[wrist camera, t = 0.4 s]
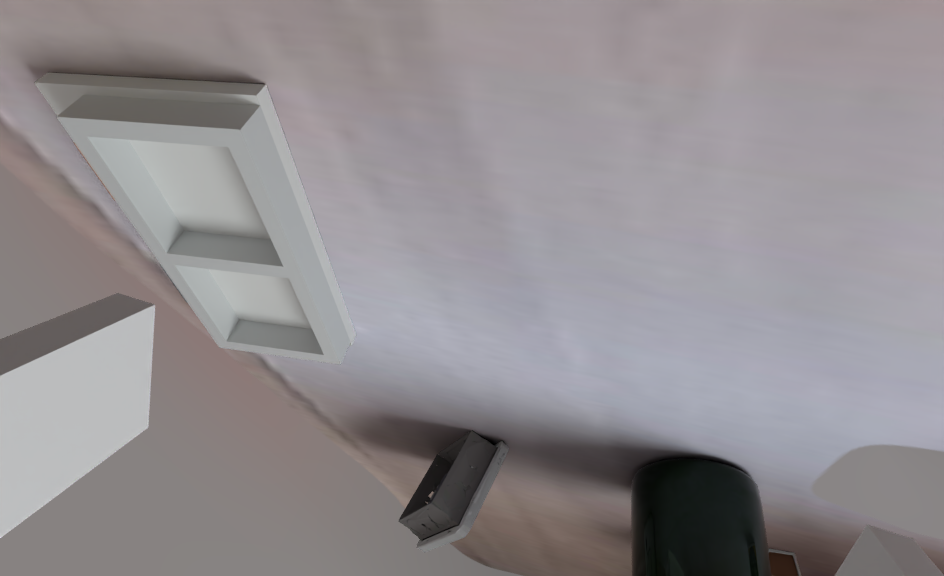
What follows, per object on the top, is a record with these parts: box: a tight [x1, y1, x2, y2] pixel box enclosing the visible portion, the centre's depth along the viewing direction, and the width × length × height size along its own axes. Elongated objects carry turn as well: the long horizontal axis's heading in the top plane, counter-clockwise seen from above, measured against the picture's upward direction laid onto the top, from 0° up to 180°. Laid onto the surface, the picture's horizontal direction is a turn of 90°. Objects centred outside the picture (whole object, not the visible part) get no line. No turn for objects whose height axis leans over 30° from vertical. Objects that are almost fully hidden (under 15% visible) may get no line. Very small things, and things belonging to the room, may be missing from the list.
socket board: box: [34, 73, 356, 365], centre depth 33 cm, size 20×12×3 cm, turn 3°
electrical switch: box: [399, 431, 509, 552], centre depth 49 cm, size 9×5×9 cm, turn 153°
